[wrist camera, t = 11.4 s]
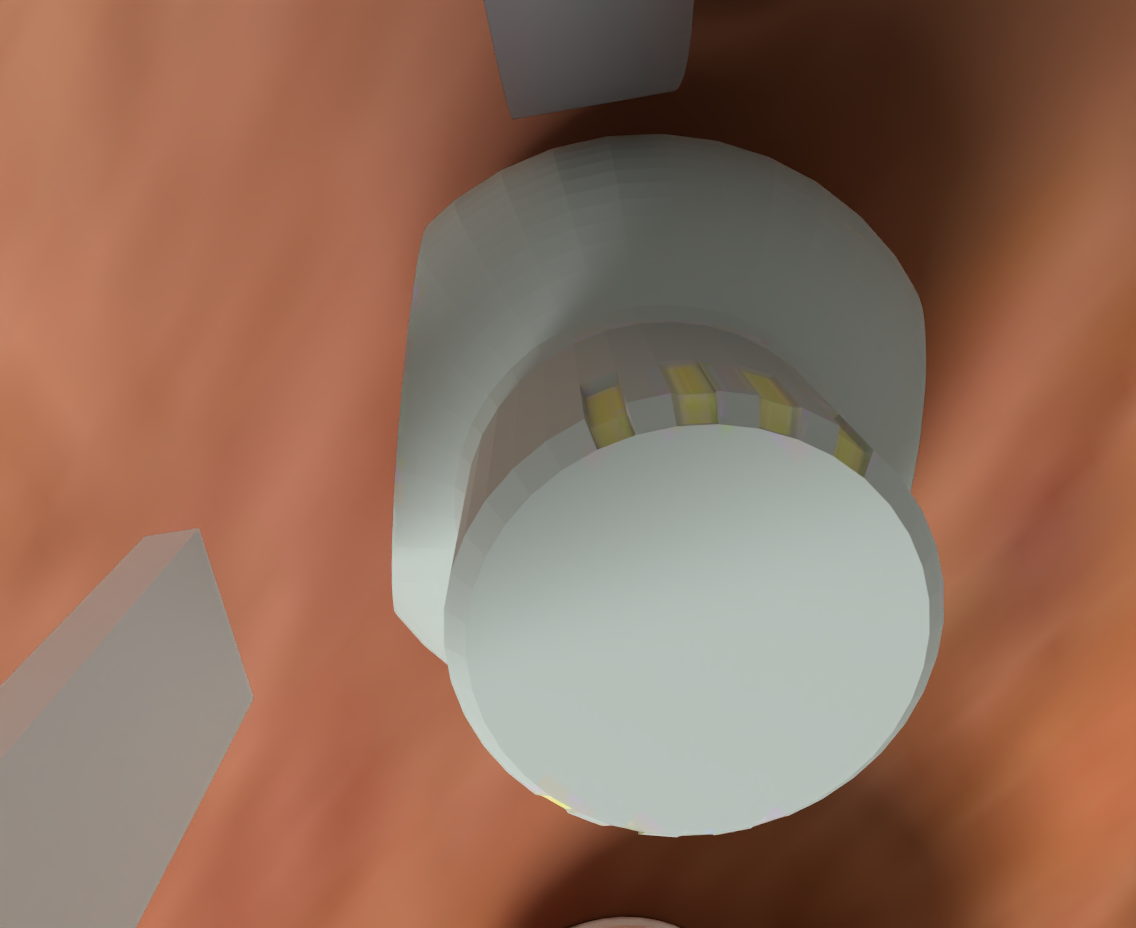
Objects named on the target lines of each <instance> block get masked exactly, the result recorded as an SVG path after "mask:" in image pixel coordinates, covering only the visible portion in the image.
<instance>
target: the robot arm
mask: <svg viewBox="0 0 1136 928" xmlns="http://www.w3.org/2000/svg"><path fill="white" fill-rule="evenodd" d="M253 699H254V698H253V694H252V691H251V688H250V685H249V682H248V679H247V676H246V673H245V670H244V667H243V663H242V660H241V657H240V654H239V651H238V648H237V645H236V642H235V639H234V636H233V633H232V629H231V626H230V623H229V620H228V617H227V614H226V611H225V608H224V605H223V602H222V599H221V595H220V592H219V589H218V586H217V583H216V580H215V577H214V574H213V571H212V568H211V565H210V561H209V558H208V555H207V552H206V549H205V546H204V543H203V540H202V537H201V534H200V530H199V528H195V529H189V530H183V531H176V532H170V533H164V534H157V535H151V536H145V537H143V539H142V540H141V541H140V542H139V543H138V544H137V545H136V546H135V547H134V548H133V549H132V550H131V551H130V552H129V553H128V554H127V555H126V556H125V557H124V558H123V559H122V560H121V561H120V562H119V563H118V564H117V565H116V567H115V568H114V569H113V570H112V571H111V572H110V573H109V574H108V575H107V576H106V577H105V578H104V579H103V580H102V581H101V582H100V583H99V584H98V585H97V586H96V587H95V588H94V589H93V590H92V591H91V592H90V593H89V594H88V596H87V597H86V598H85V599H84V600H83V601H82V602H81V603H80V604H79V605H78V606H77V607H76V608H75V609H74V610H73V611H72V612H71V613H70V614H69V615H68V616H67V617H66V618H65V619H64V620H63V621H62V622H61V624H60V625H59V626H58V627H57V628H56V629H55V630H54V631H53V632H52V633H51V634H50V635H49V636H48V637H47V638H46V639H45V640H44V641H43V642H42V643H41V644H40V645H39V646H38V647H37V648H36V649H35V650H34V651H33V653H32V654H31V655H30V656H29V657H28V658H27V659H26V660H25V661H24V662H23V663H22V664H21V665H20V666H19V667H18V668H17V669H16V670H15V671H14V672H13V673H12V674H11V675H10V676H9V677H8V678H7V679H6V681H5V682H4V683H3V684H2V685H1V686H0V928H136V927H137V925H138V923H139V921H140V919H141V917H142V915H143V913H144V911H145V909H146V907H147V905H148V903H149V901H150V900H151V898H152V896H153V894H154V892H155V890H156V888H157V886H158V884H159V882H160V880H161V878H162V876H163V874H164V872H165V870H166V868H167V866H168V864H169V862H170V861H171V859H172V857H173V855H174V853H175V851H176V849H177V847H178V845H179V843H180V841H181V839H182V837H183V835H184V833H185V831H186V829H187V827H188V825H189V823H190V822H191V820H192V818H193V816H194V814H195V812H196V810H197V808H198V806H199V804H200V802H201V800H202V798H203V796H204V794H205V792H206V790H207V788H208V786H209V784H210V783H211V781H212V779H213V777H214V775H215V773H216V771H217V769H218V767H219V765H220V763H221V761H222V759H223V757H224V755H225V753H226V751H227V749H228V747H229V745H230V744H231V742H232V740H233V738H234V736H235V734H236V732H237V730H238V728H239V726H240V724H241V722H242V720H243V718H244V716H245V714H246V712H247V710H248V708H249V706H250V705H251V703H252V701H253Z"/></svg>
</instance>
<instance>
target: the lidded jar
mask: <svg viewBox="0 0 1136 928" xmlns="http://www.w3.org/2000/svg"><path fill="white" fill-rule="evenodd" d="M571 928H681V927H678V926H676V925H673V924H670V923H667V922H663V921H660V920H655V919H649V918H643V917H611V918H602V919H598V920H593V921H589V922H585V923H582V924H579V925H576V926H573V927H571Z"/></svg>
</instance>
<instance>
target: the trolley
mask: <svg viewBox="0 0 1136 928" xmlns="http://www.w3.org/2000/svg"><path fill="white" fill-rule="evenodd" d="M484 3H485V8H486V13H487V18H488V22H489V27H490V32H491V37H492V41H493V46H494V50H495V55H496V59H497V64H498V68H499V72H500V77H501V81H502V85H503V89H504V93H505V97H506V101H507V105H508V108H509V112H510V115H511V117H512V119H518V118H524V117H529V116H535V115H541V114H547V113H552V112H558V111H564V110H570V109H575V108H581V107H587V106H593V105H598V104H604V103H610V102H615V101H621V100H627V99H633V98H638V97H644V96H650V95H656V94H661V93H667V92H673V91H675V90H676V89H678V88H679V87H680V84H681V82H682V80H683V77H684V74H685V70H686V65H687V61H688V55H689V48H690V41H691V33H692V21H693V9H694V0H484Z"/></svg>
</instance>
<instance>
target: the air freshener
mask: <svg viewBox="0 0 1136 928" xmlns="http://www.w3.org/2000/svg"><path fill="white" fill-rule="evenodd" d="M925 385H926V337H925V321H924V314H923V308H922V305H921V301H920V298H919V295H918V294H917V292H916V290H915V288H914V286H913V284H912V283H911V281H910V279H909V278H908V276H907V274H906V273H905V271H904V269H903V268H902V266H901V264H900V263H899V261H898V259H897V258H896V256H895V255H894V254H893V253H892V251H891V250H890V249H889V248H888V247H887V246H886V245H885V243H884V242H883V241H882V240H881V239H880V238H879V237H878V236H877V234H876V233H875V232H874V231H873V230H872V229H871V228H870V226H869V225H868V224H867V223H866V222H865V221H864V220H863V219H862V217H861V216H859V215H858V214H857V213H856V212H854V211H853V210H852V209H851V208H849V207H848V206H847V205H845V204H844V203H843V202H842V201H840V200H839V199H838V198H837V197H835V196H834V195H833V194H831V193H830V192H829V191H828V190H826V189H825V188H824V187H823V186H821V185H820V184H819V183H817V182H816V181H814V180H812V179H810V178H808V177H806V176H805V175H803V174H801V173H799V172H797V171H795V170H793V169H791V168H789V167H787V166H785V165H784V164H782V163H780V162H778V161H776V160H774V159H772V158H770V157H768V156H764V155H761V154H758V153H755V152H752V151H748V150H745V149H742V148H739V147H736V146H732V145H729V144H726V143H723V142H720V141H716V140H708V139H700V138H692V137H684V136H676V135H668V134H644V135H624V136H605V137H601V138H596V139H592V140H588V141H583V142H579V143H574V144H570V145H566V146H561V147H557V148H553V149H550V150H548V151H545V152H543V153H540V154H538V155H536V156H533V157H531V158H528V159H526V160H524V161H521V162H519V163H516V164H514V165H512V166H509V167H507V168H505V169H502V170H500V171H499V172H497V173H496V174H494V175H493V176H491V177H489V178H488V179H486V180H485V181H483V182H482V183H480V184H478V185H477V186H475V187H474V188H472V189H471V190H469V191H468V192H466V193H464V194H463V195H461V196H460V197H458V198H457V199H455V200H454V201H453V202H452V203H451V204H450V205H449V206H447V207H446V208H445V209H444V210H443V211H442V212H441V213H440V214H439V215H438V216H437V217H435V218H434V219H433V220H432V221H431V222H430V223H429V224H428V225H427V226H426V228H425V231H424V234H423V237H422V242H421V246H420V251H419V256H418V262H417V268H416V274H415V281H414V288H413V295H412V302H411V310H410V317H409V326H408V334H407V344H406V353H405V362H404V372H403V382H402V393H401V405H400V417H399V429H398V443H397V456H396V471H395V489H394V507H393V534H392V592H393V604H394V610H395V613H396V614H397V615H398V617H399V618H400V619H401V620H402V621H403V622H404V623H405V624H406V626H407V627H408V628H409V629H410V630H411V631H412V632H413V633H414V635H415V636H416V637H417V638H418V639H419V640H420V641H421V642H422V644H423V645H424V646H426V647H427V648H428V649H429V650H430V651H432V652H433V653H434V654H435V655H437V656H438V657H439V658H440V659H441V660H443V661H444V662H445V663H446V664H448V668H449V673H450V678H451V683H452V685H453V688H454V690H455V693H456V695H457V698H458V700H459V703H460V705H461V708H462V710H463V713H464V715H465V717H466V718H467V720H468V722H469V723H470V725H471V726H472V728H473V730H474V731H475V733H476V734H477V736H478V738H479V739H480V741H481V742H482V744H483V746H484V747H485V748H486V749H487V750H488V751H489V752H490V753H491V755H492V756H493V757H494V758H495V759H496V760H497V761H498V762H499V763H500V765H501V766H502V767H503V768H504V769H505V770H506V771H507V772H508V773H509V774H510V775H512V776H513V777H514V778H515V779H517V780H518V781H519V782H520V783H522V784H523V785H524V786H525V787H527V788H528V789H529V790H530V791H532V792H533V793H534V794H535V795H542V796H543V797H545V798H547V799H549V800H550V801H552V802H554V803H556V804H557V805H559V806H561V807H563V808H565V809H566V811H567V813H569V814H572V815H575V816H577V817H580V818H582V819H585V820H588V821H590V822H593V823H595V824H598V825H601V826H609V825H613V826H617V827H622V828H626V829H631V830H635V831H638V834H642V835H654V836H666V837H679V836H687V835H706V834H713V835H718V834H724V833H729V832H734V831H739V830H745V829H750V828H752V827H754V826H757V825H760V824H763V823H766V822H769V821H772V820H775V819H778V818H781V817H784V816H789V815H791V814H793V813H795V812H797V811H799V810H801V809H803V808H805V807H808V806H810V805H812V804H814V803H816V802H818V801H820V800H822V799H823V798H825V797H826V796H828V795H829V794H831V793H832V792H834V791H835V790H837V789H838V788H840V787H841V786H843V785H844V784H846V783H847V782H848V781H850V780H851V779H853V778H854V777H855V776H856V775H858V774H859V773H860V772H861V771H862V770H863V769H864V768H865V767H866V766H867V765H869V764H870V763H871V762H872V761H873V760H874V759H875V758H876V757H877V756H878V755H879V754H881V753H882V752H883V750H884V749H885V748H886V747H887V745H888V744H889V743H890V742H891V740H892V739H893V738H894V737H895V736H896V734H897V733H898V732H899V731H900V729H901V728H902V727H903V726H904V724H905V723H906V721H907V720H908V718H909V716H910V715H911V713H912V711H913V709H914V708H915V706H916V704H917V702H918V701H919V699H920V697H921V695H922V694H923V692H924V690H925V687H926V685H927V682H928V679H929V677H930V674H931V671H932V669H933V666H934V663H935V660H936V658H937V654H938V649H939V643H940V638H941V632H942V627H943V621H944V582H943V577H942V572H941V566H940V561H939V556H938V551H937V546H936V544H935V541H934V539H933V536H932V534H931V531H930V529H929V526H928V524H927V521H926V519H925V516H924V514H923V511H922V510H921V508H920V507H919V505H918V504H917V502H916V500H915V499H914V497H913V496H912V494H911V493H910V491H911V487H912V482H913V477H914V471H915V465H916V460H917V454H918V448H919V442H920V436H921V426H922V417H923V407H924V397H925Z"/></svg>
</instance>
